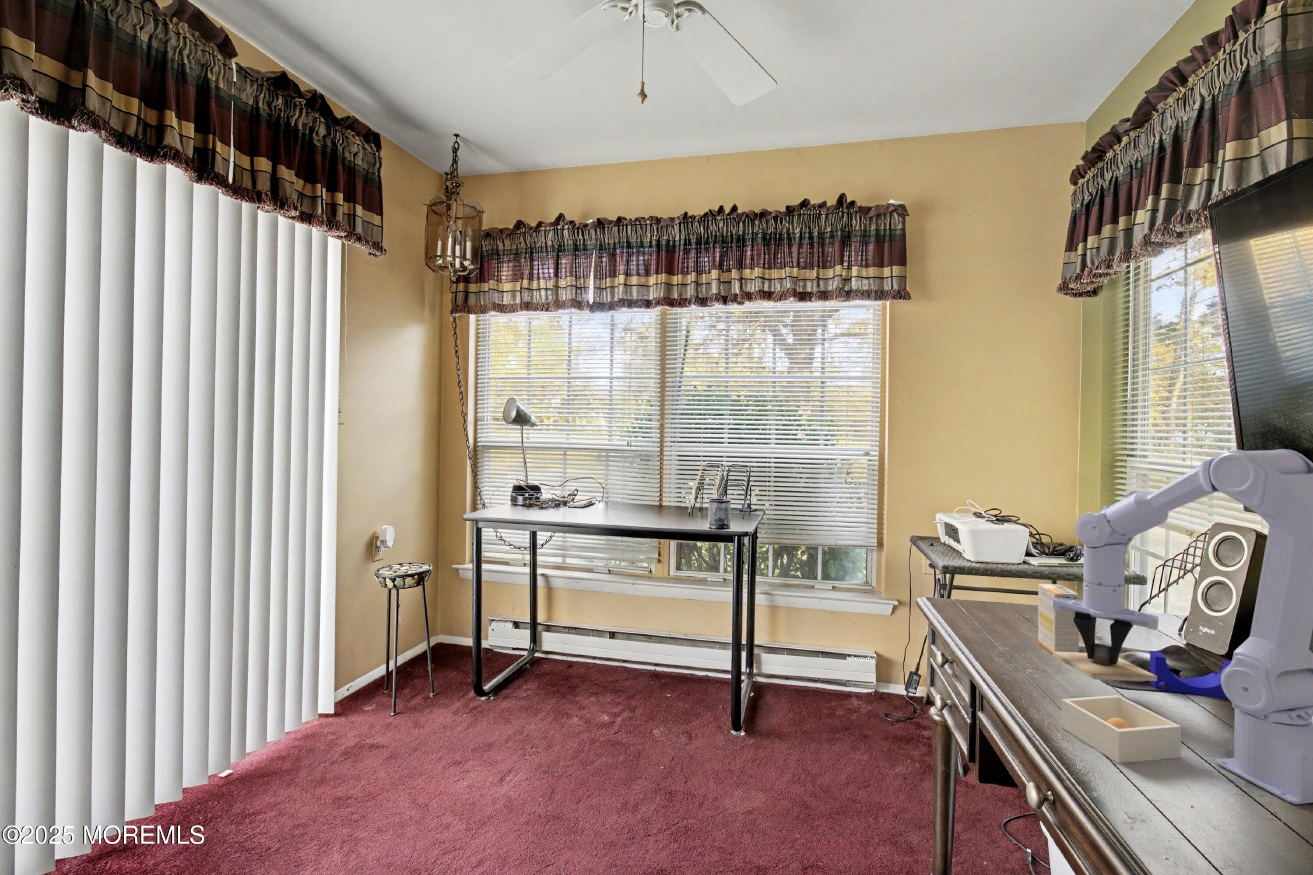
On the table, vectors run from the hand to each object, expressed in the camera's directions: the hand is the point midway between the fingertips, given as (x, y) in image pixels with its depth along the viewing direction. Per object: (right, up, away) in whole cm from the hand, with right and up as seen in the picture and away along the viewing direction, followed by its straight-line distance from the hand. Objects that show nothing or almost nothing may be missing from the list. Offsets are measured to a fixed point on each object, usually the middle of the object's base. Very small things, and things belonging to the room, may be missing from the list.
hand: (1102, 660), depth 104 cm
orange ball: (-8, -5, -14) cm, 17 cm away
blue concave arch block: (+19, -7, +3) cm, 20 cm away
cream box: (-8, -7, -14) cm, 18 cm away
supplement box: (+7, -6, +22) cm, 24 cm away
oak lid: (0, -1, 0) cm, 1 cm away
